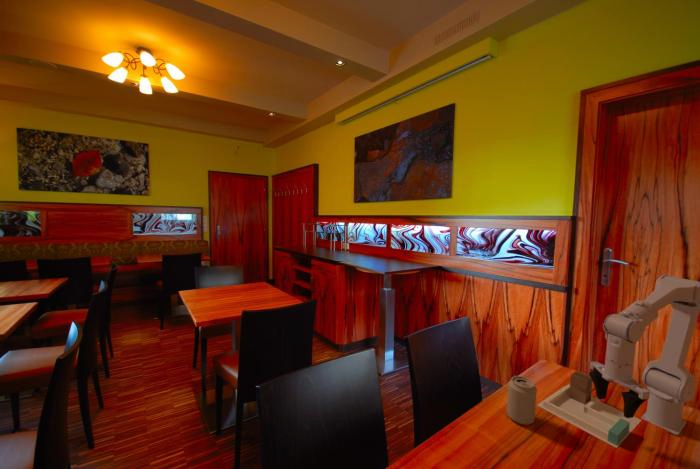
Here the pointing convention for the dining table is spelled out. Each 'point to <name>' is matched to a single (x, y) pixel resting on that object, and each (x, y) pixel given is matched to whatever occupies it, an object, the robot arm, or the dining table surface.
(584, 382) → the brown rectangular block
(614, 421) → the white tray
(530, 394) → the can
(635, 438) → the dining table surface
